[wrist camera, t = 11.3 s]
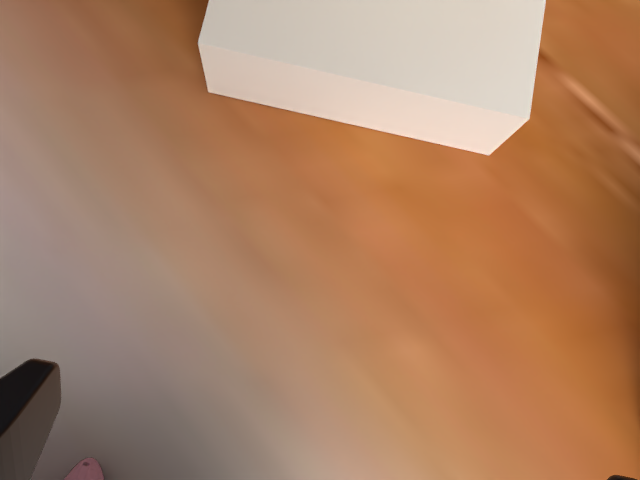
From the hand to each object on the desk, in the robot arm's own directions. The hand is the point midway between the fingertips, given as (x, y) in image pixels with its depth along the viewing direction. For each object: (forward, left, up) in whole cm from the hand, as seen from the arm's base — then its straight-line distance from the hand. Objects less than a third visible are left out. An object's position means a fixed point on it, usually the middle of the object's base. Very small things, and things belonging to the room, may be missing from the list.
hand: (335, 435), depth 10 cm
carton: (+10, +12, -14) cm, 21 cm away
